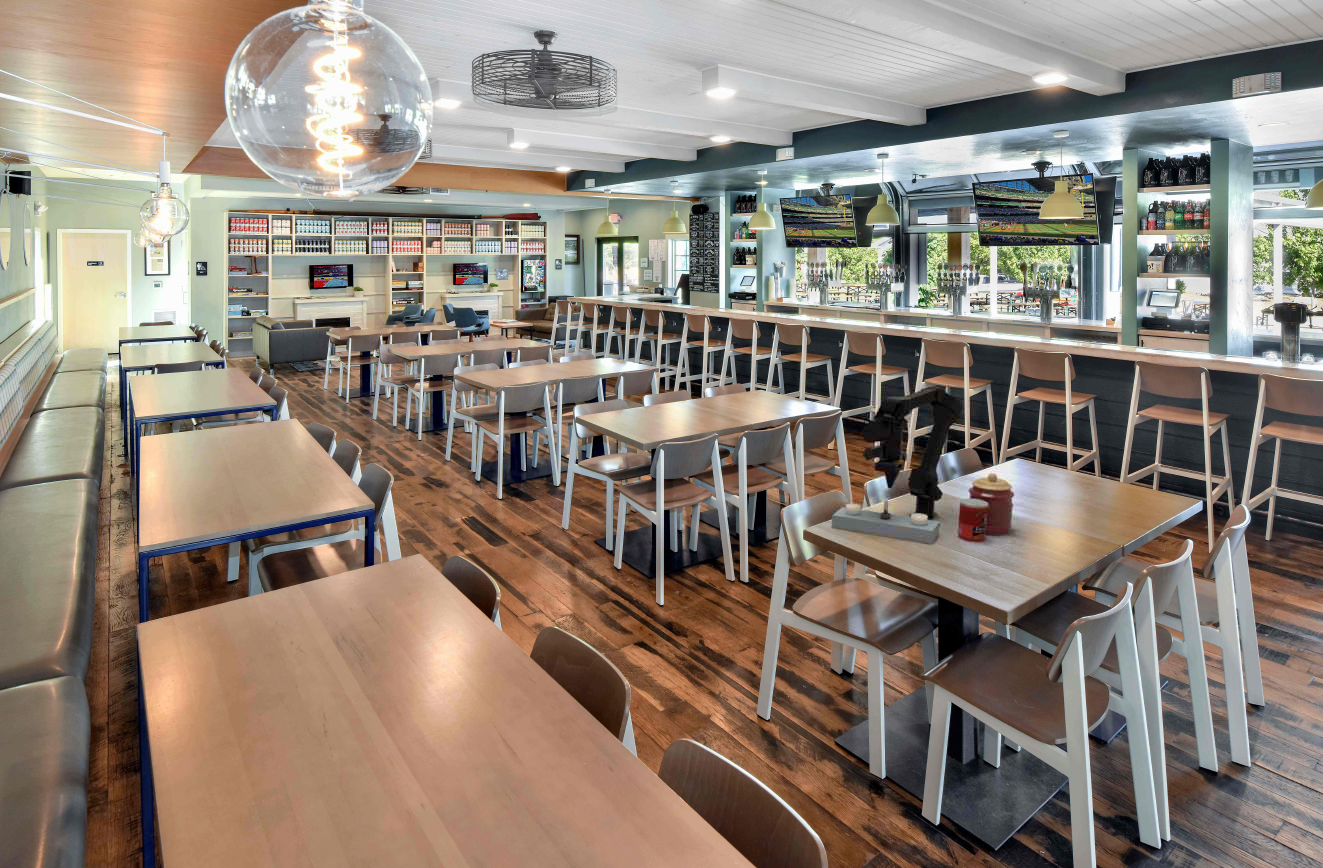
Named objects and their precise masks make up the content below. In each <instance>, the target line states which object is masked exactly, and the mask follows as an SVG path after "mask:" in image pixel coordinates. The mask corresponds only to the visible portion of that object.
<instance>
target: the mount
mask: <svg viewBox="0 0 1323 868" xmlns="http://www.w3.org/2000/svg"><path fill="white" fill-rule="evenodd" d="M881 513H882V512H877V511H871V510H864V509H861V514H860V515H857V516H856V515H849V514H846V506H842V507H841V508H839V509H838V510H836V512H834V513H833V514H832V516H831V519H832V520H831V528H833V529H838V528H839V530H844V529H845V530H846V531H850V532H856V533H863V534H869V535H876V536H880V537H881V536H882V537H888V538H893V539H898V540H904V541H905V540H906V541H911V542H917V543H921V544H922V543H923V544H928V545H932V544H933V543H934V541H936V539H937V538H938V536H939V535H940V523H941V521H938V520H933V519H927V525H924V526H918V525H914V524H911V516H905V515H897V514H891V513H890V514H891V518H890V520H883V519H881V518H880V514H881Z"/></svg>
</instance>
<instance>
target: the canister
mask: <svg viewBox="0 0 1323 868" xmlns="http://www.w3.org/2000/svg"><path fill="white" fill-rule="evenodd" d="M971 482H972V483H971V484H972V487H969V488H968V492H969V498H968V499H979V500H983V501H985V502H987V503H988V518H987V529H986V535H990V536H991V535H992V536H1002V535H1007V534H1009V533H1010V532H1011V529H1012V524H1013V523H1012V517H1013V507H1014V503H1013V498H1014V497H1015V493H1014V492H1013V491H1012V490H1011V489H1013V486H1012V485H1011V484H1010V483H1009V482H1008V481H1007V480H1005V479H1002V478H998V475H997V474H995V473H993V472H991V473H989V474H988V476H987V477H979V478H977V479H975V480H973V481H971Z"/></svg>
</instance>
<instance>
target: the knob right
mask: <svg viewBox="0 0 1323 868" xmlns="http://www.w3.org/2000/svg"><path fill="white" fill-rule="evenodd" d="M913 513H914V512H913ZM913 513H912V514H911V515H910V517H911V524H914V525H918V526H924V525H927V520H928V518H927V517H928V516H927V515H925V514H921V513H914V514H913Z"/></svg>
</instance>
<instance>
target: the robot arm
mask: <svg viewBox="0 0 1323 868" xmlns="http://www.w3.org/2000/svg"><path fill="white" fill-rule="evenodd" d="M926 405H929V406H930V407H931V408H932V411H931V415H932V419H933V425H932V428H931V431H930V435H929V437H928V440H927V443H926V447H925V449H924V453H923V456H922V459H921V462H920V464H919V465H918V466H917V467H916V468H914V467H913V468H912V469H911V471H910V475H909V477H908V479H907V480H908V482H907V483H908V485H907V486H908V489H909V493H910V496H914V497H916V499H915V511H914V512H913V513H912V514H914V513H921V514H925V515H927V516H928V517H927V520H933V519H935V517H936V516H937V515H938V513H937V512H935V503H936V502H939V500H942V496H943V494H944V493H943V492H942V490H941V488H940V487H939V485H938V482H939V476H938V472H937V468H938V464H939V462H940V460H941V459H940V458H941V455H942V452H943V450H944V446H945V443H946V440H947V436H948V433H949V431H950V428H951V427H952V426H953V425H954V424H955V423H956V422H957V421H958V419H959V417H960V415H961V413H962V410H963V405H962V403H961V400H959V399H957V398H956V397H954V396H953V395H951V394H949V392H948V393H947V391H945V390H944V389H943V388H941V387H937V386H928V387H926V388H924V389H921V390H918V391H916V392H913V393H910V394H906V395H904V396H888V397H885V398H883V400H882V402H881V404H880V405H879V407H878V410H877V411H876V413H875V415H874V417H873V419H869V420H868V423H867V424H866V425H865V426H864V427H863V429H862V437H863V439H864V440H865V442H867V443H869V444H871V443H873V444H874V443H880V444H879V445H876V446H875V445H874V446H869V447H865V448H864V450H862V457H863V458H864V459H865V461H867V462H868V461H870V460H873V459H876V458H878V461H877V462H876V463H874V471H876V472H882V473H884V476H885V481H886V485H887V488H888V489H892V488H893V487H894V484H895V482H896V480H897V479H898V476H899V474H900V472H901V470H902V469H903V467H904V465H903V464H901V463H899V461H901V460H902V462H908V461H907V460H908V453H907V452H906V451H905V450H903V449H902V448H903V446H904V441H903V435H904V434H903V432H904V425H906V424H908V423H909V420H907V419H906V417H907V416H909V415H910V414H911V412H912V411H913V410H914V409H917V408H919V407H923V406H926Z"/></svg>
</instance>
